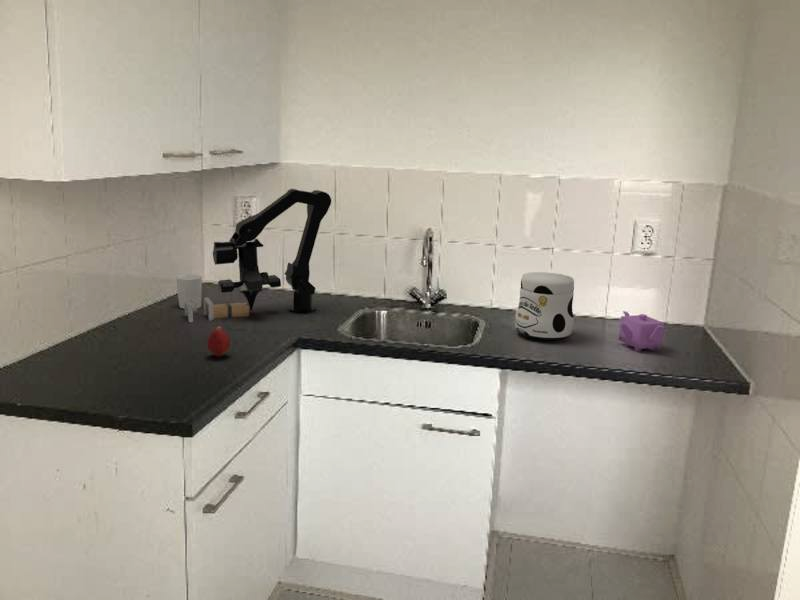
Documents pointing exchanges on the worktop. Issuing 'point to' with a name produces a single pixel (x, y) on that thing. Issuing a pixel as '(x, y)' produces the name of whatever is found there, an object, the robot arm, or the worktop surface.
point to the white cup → (189, 289)
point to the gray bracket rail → (189, 308)
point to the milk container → (545, 306)
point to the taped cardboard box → (230, 310)
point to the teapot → (641, 332)
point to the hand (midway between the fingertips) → (251, 310)
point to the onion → (218, 342)
